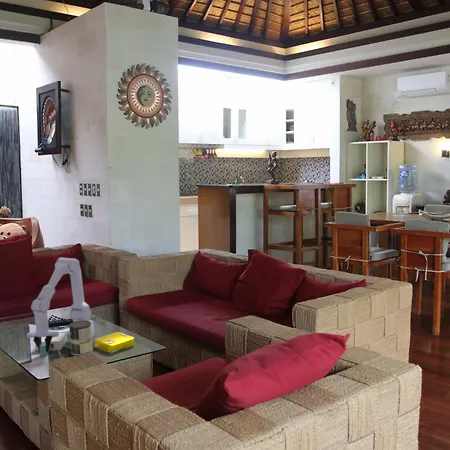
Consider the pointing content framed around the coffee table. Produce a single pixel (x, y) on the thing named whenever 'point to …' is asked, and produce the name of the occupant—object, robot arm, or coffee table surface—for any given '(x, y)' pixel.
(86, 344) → the coffee can
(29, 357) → the coffee table surface
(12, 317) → the coffee table surface
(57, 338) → the housing
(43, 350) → the block
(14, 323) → the coffee table surface
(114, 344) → the element tile
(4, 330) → the coffee table surface
